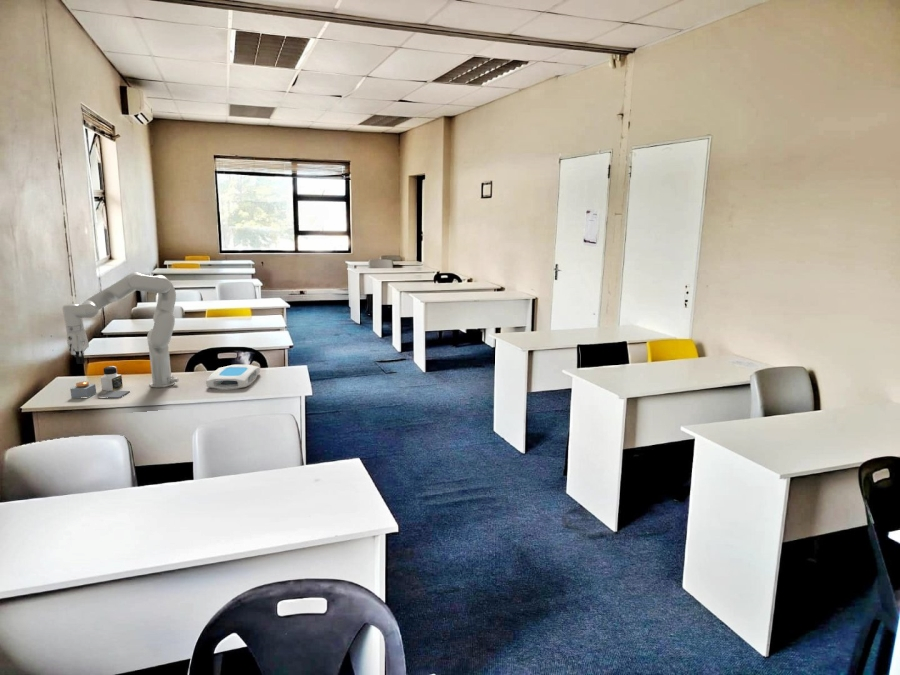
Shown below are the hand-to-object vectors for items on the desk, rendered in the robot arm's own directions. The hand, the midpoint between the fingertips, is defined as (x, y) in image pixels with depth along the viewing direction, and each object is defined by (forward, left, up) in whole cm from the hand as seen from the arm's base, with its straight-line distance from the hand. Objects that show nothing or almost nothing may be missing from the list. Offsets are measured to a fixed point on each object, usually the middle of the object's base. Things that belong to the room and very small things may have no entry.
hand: (80, 363), depth 301 cm
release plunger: (0, 0, -17) cm, 17 cm away
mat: (-15, -1, -17) cm, 23 cm away
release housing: (0, 0, -17) cm, 17 cm away
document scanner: (-68, -27, -18) cm, 75 cm away
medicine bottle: (-8, -12, -18) cm, 22 cm away
